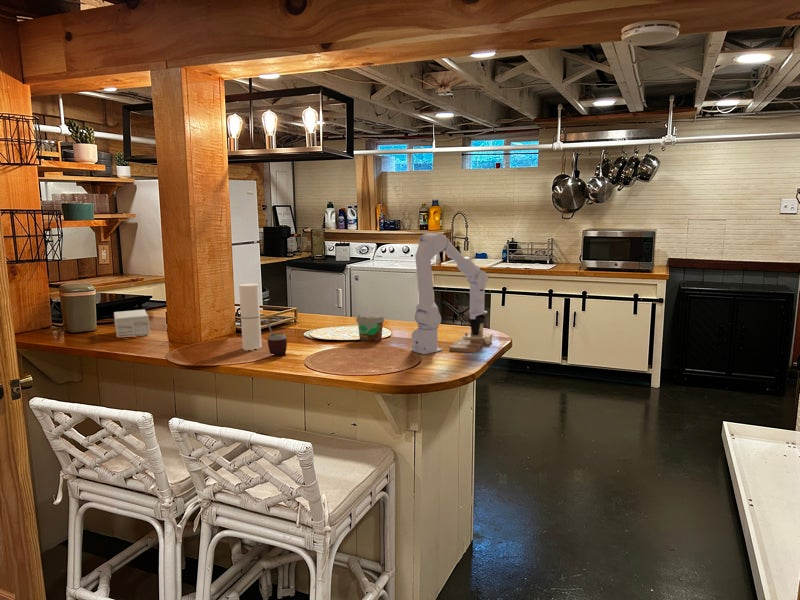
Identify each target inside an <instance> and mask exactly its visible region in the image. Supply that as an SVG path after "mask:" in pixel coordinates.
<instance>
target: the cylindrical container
mask: <svg viewBox="0 0 800 600" xmlns="http://www.w3.org/2000/svg"><path fill="white" fill-rule="evenodd" d="M238 285H239V287H238V290H239V305H240V323H241V325H240V326H241V339H242V341H241V343H242V350H243V349H244V350H243V351H248V350H251V351H255V350H254V349H258V350H260V349H259V348H261V347H262V345H263V344H262V330H261V310H260V308H261V306H260V289H259V288H260V287H259V283H242V284H238ZM262 348H263V347H262ZM262 348H261V349H262Z"/></svg>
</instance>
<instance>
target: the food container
mask: <svg viewBox="0 0 800 600" xmlns="http://www.w3.org/2000/svg"><path fill="white" fill-rule="evenodd" d="M355 321H356V323H357V326H358V335H359V336H358V337H359V340H360V339H361V341H360V342H362V343H378V342H382V339H383V327H384V326H383V325H384V323H385V318H384V317H383V316H381V317H374V316H360V314H358V315H357V316H356V320H355Z"/></svg>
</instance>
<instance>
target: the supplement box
mask: <svg viewBox="0 0 800 600" xmlns="http://www.w3.org/2000/svg"><path fill="white" fill-rule="evenodd" d="M149 317H150V316H149V314H148V313H147V311H146V309H135V310H124V311H114V312H113V320H114V328H115V334H116V338H117V337H130V336H144V335H150V336H151V330H150V328H151V327H150V320H149V319H150V318H149Z"/></svg>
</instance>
